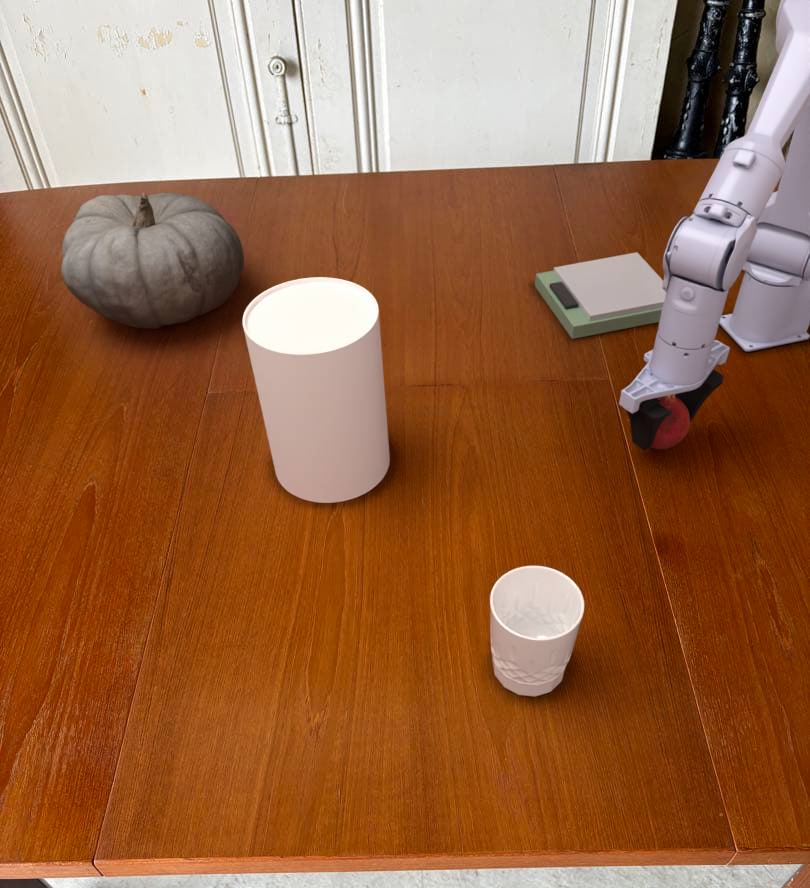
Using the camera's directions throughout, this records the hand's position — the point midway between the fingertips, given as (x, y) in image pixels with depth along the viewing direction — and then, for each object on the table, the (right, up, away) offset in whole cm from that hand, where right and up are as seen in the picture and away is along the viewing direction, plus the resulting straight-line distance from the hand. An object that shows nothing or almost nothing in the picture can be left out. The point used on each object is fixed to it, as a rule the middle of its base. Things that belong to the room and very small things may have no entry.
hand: (660, 433), depth 94 cm
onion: (0, -1, +2) cm, 2 cm away
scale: (-1, +22, +22) cm, 31 cm away
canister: (-38, -3, +2) cm, 38 cm away
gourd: (-65, +23, +26) cm, 74 cm away
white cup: (-18, -24, -17) cm, 35 cm away
